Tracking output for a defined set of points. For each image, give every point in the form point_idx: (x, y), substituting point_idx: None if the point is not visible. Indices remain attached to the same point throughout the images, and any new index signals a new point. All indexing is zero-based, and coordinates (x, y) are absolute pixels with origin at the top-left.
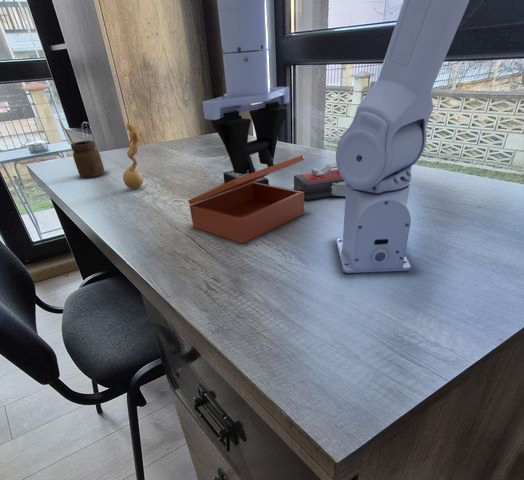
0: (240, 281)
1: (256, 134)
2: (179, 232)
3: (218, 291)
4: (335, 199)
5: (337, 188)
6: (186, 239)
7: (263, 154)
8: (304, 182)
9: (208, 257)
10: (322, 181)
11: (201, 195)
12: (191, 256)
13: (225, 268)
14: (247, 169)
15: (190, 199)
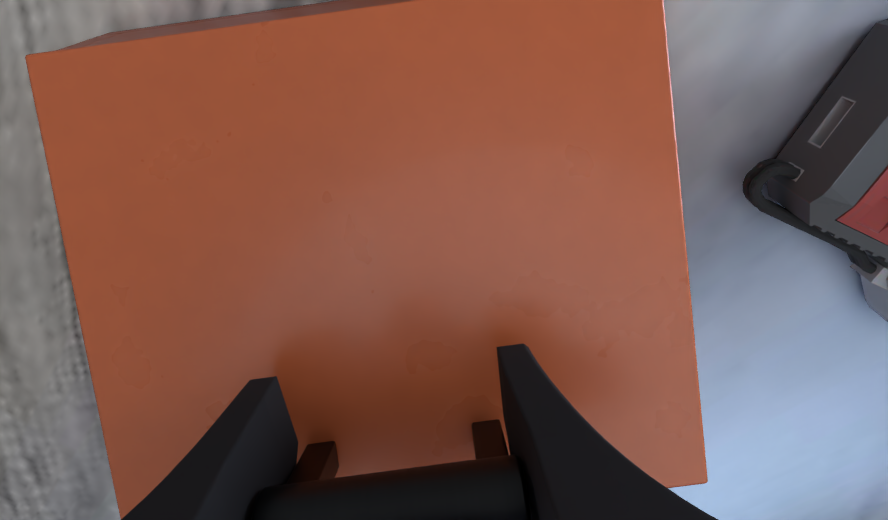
0: (98, 509)
1: (538, 462)
2: (15, 33)
3: (21, 512)
4: (832, 272)
5: (883, 288)
6: (28, 146)
7: (508, 415)
8: (822, 203)
9: (64, 350)
10: (886, 250)
11: (62, 223)
12: (3, 304)
13: (89, 438)
14: (295, 462)
15: (31, 87)
